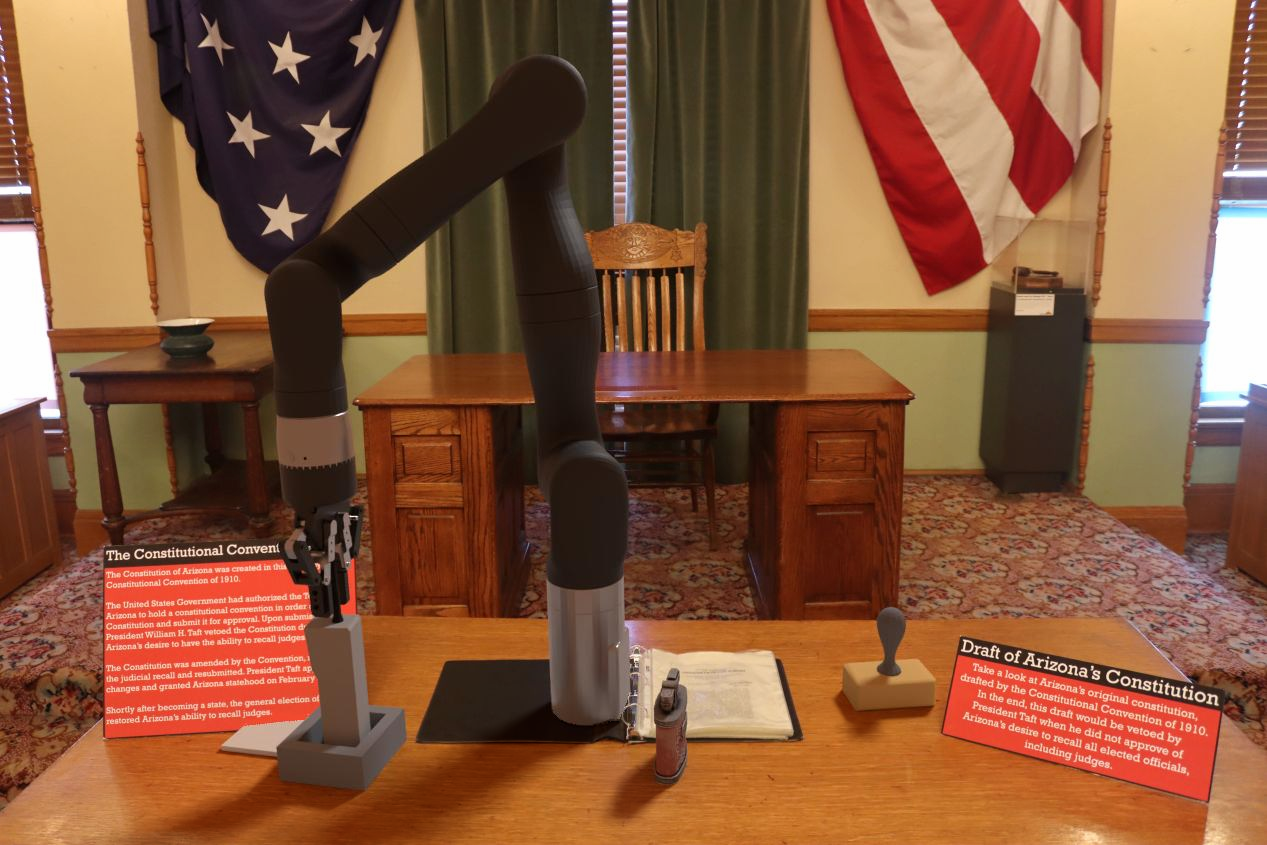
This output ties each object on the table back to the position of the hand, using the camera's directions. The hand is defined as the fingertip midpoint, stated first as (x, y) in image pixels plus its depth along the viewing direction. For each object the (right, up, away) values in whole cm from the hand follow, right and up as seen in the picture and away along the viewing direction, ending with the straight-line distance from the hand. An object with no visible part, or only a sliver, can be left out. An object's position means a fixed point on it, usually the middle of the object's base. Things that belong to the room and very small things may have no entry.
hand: (331, 608), depth 100 cm
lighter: (+37, -18, +2) cm, 41 cm away
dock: (0, -18, +4) cm, 18 cm away
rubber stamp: (+64, -14, +15) cm, 68 cm away
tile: (-10, -17, +9) cm, 21 cm away
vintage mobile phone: (0, -18, +4) cm, 18 cm away
